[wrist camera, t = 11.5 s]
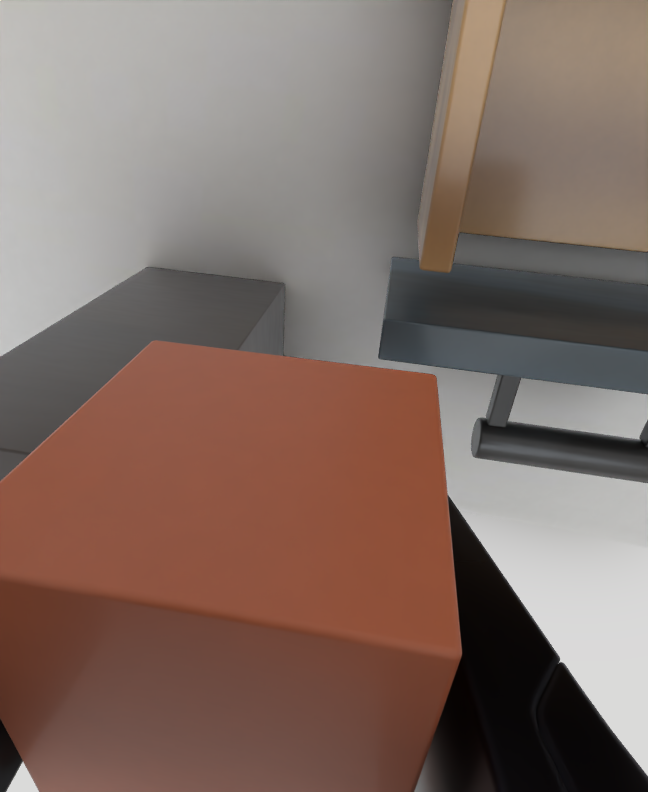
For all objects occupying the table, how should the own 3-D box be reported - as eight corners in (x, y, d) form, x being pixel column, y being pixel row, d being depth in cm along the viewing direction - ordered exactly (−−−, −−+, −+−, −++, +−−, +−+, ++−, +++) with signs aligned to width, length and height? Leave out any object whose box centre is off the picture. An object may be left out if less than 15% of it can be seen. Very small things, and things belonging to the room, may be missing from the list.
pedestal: (281, 405, 24) (175, 651, 13) (160, 388, 24) (-36, 610, 14) (285, 282, 20) (149, 473, 10) (146, 266, 21) (-122, 429, 10)
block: (396, 573, 10) (388, 875, 6) (178, 537, 10) (39, 797, 7) (437, 373, 8) (465, 658, 4) (152, 338, 8) (-91, 559, 4)
